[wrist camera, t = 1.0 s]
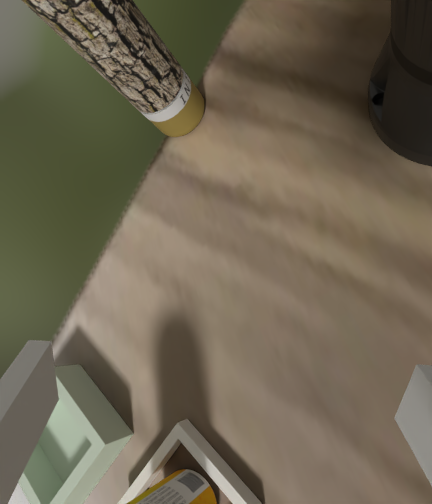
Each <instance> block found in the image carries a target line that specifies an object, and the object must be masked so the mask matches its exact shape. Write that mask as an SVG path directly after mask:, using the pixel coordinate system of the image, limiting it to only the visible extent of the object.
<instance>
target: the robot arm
mask: <svg viewBox="0 0 432 504" xmlns="http://www.w3.org/2000/svg"><path fill="white" fill-rule="evenodd" d="M368 101H369V114H370V119H371V122H372V125H373V127H374V129H375V131H376V133H377V134H378V136H379V137H380V139H381V140H382V141H383V142H384V143H385V144H386V145H387V146H388V147H389V148H390V149H392V150H393V151H394V152H396V153H397V154H399V155H401V156H403V157H405V158H407V159H409V160H411V161H414V162H417V163H420V164H424V165H429V166H432V0H391V32H390V34H389V36H388V38H387V40H386V42H385V44H384V46H383V48H382V50H381V53H380V55H379V57H378V59H377V61H376V63H375V65H374V68H373V70H372V73H371V77H370V82H369V88H368ZM58 400H59V396H58V389H57V381H56V374H55V366H54V358H53V351H52V343H51V341H37V340H36V341H35V340H29V341H28V342H27V343H26V345H25V346H24V347H23V349H22V350H21V352H20V353H19V354H18V356H17V357H16V358H15V360H14V361H13V363H12V364H11V365H10V367H9V368H8V369H7V371H6V372H5V374H4V375H3V376H2V378H1V379H0V504H8V502H9V500H10V498H11V496H12V493H13V491H14V489H15V487H16V485H17V483H18V481H19V479H20V477H21V475H22V473H23V471H24V469H25V467H26V465H27V463H28V461H29V459H30V457H31V455H32V453H33V451H34V449H35V447H36V445H37V443H38V441H39V439H40V437H41V435H42V433H43V431H44V429H45V427H46V425H47V422H48V420H49V418H50V416H51V414H52V412H53V410H54V408H55V406H56V404H57V402H58ZM395 420H396V422H397V424H398V426H399V427H400V429H401V431H402V433H403V435H404V437H405V438H406V440H407V442H408V444H409V446H410V447H411V449H412V451H413V453H414V455H415V457H416V458H417V460H418V462H419V464H420V466H421V467H422V469H423V471H424V473H425V475H426V477H427V478H428V480H429V482H430V484H431V486H432V365H416V367H415V370H414V372H413V375H412V377H411V379H410V382H409V384H408V387H407V389H406V391H405V394H404V396H403V399H402V401H401V404H400V406H399V408H398V411H397V413H396V416H395Z"/></svg>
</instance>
